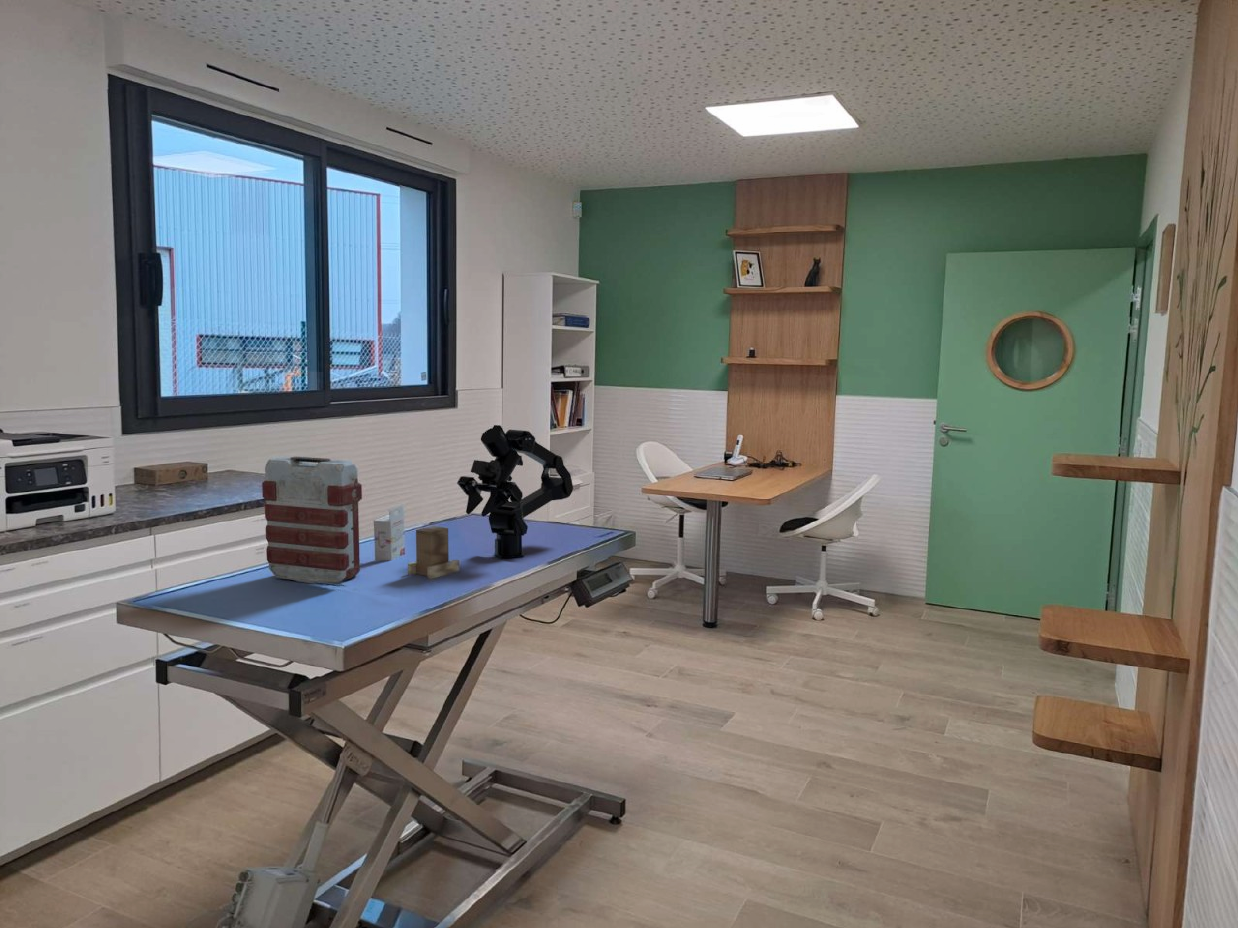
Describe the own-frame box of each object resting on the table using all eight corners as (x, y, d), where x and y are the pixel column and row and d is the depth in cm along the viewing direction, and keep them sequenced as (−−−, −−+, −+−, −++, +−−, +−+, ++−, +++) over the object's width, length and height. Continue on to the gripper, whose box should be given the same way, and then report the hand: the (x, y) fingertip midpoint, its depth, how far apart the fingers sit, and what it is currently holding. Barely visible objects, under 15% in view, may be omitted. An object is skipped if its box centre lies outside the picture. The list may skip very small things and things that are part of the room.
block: (434, 568, 227) (433, 525, 226) (448, 571, 225) (448, 528, 223) (416, 573, 222) (415, 529, 221) (431, 576, 220) (430, 532, 218)
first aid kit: (365, 580, 220) (362, 458, 216) (344, 588, 212) (340, 462, 209) (287, 571, 228) (283, 453, 224) (264, 579, 220) (259, 457, 216)
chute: (439, 568, 232) (438, 553, 232) (468, 574, 227) (468, 559, 226) (386, 583, 217) (385, 567, 217) (416, 590, 212) (415, 573, 211)
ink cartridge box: (388, 556, 245) (387, 503, 243) (405, 557, 244) (404, 504, 242) (373, 564, 236) (372, 508, 235) (391, 565, 236) (390, 509, 234)
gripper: (461, 446, 242) (432, 492, 234) (515, 451, 232) (487, 499, 224) (481, 472, 250) (454, 517, 242) (534, 478, 239) (507, 525, 232)
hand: (474, 514), depth 235 cm, fingers open, 5 cm apart
